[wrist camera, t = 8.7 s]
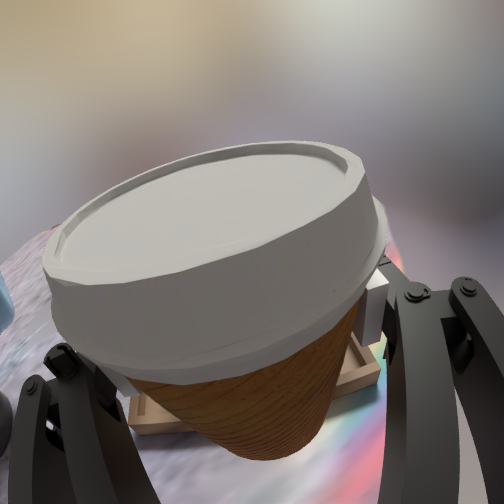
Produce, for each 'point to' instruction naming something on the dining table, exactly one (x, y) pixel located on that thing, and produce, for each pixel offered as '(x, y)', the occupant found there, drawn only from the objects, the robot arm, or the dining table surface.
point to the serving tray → (161, 422)
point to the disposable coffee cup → (225, 286)
